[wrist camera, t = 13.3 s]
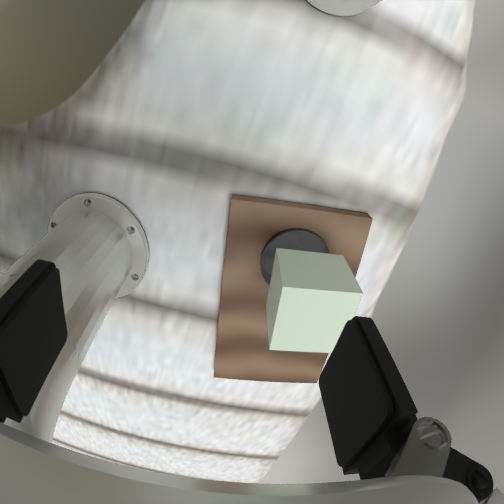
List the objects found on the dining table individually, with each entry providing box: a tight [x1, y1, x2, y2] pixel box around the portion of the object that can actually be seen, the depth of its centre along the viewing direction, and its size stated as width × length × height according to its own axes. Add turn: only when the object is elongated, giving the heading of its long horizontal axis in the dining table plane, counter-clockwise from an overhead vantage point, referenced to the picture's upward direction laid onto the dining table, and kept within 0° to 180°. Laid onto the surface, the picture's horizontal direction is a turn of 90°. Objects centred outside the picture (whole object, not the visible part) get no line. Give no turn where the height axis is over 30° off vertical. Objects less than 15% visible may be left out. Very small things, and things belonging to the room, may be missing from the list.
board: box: [214, 195, 372, 383], centre depth 32 cm, size 24×14×10 cm, turn 172°
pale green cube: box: [266, 248, 363, 353], centre depth 26 cm, size 6×6×6 cm
